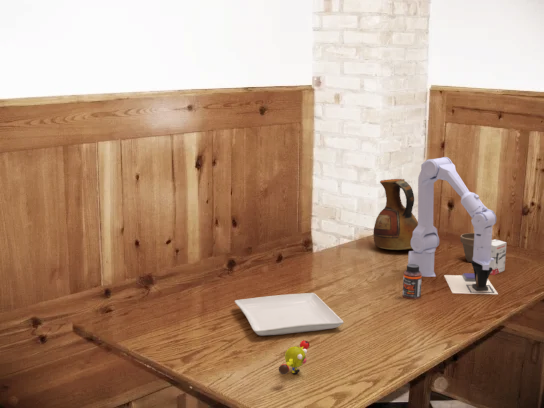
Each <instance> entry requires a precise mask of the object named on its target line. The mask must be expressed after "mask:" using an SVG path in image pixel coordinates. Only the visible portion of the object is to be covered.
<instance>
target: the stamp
mask: <svg viewBox="0 0 544 408" xmlns="http://www.w3.org/2000/svg"><path fill="white" fill-rule="evenodd" d="M472 288H474V289H475V290H476V291H488V287H487V286H485V287H479V286H478V278H477V274H476V284H472Z"/></svg>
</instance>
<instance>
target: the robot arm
mask: <svg viewBox="0 0 544 408" xmlns="http://www.w3.org/2000/svg"><path fill="white" fill-rule="evenodd" d="M420 167H421V168H420V172H419V175H418V178H417V221H418V226H417V227H416V228H415V229H414V231H413V236H412V238H411V247H412V249H411V250H409V251H408V258H407V259H408V260H407V265H408V264H417V265H419V271H420V272H421V273H422V277H428V278H429V277H433V278H434V277H437V275H436V273H435V252H436V249H437V248H438V246H439V245H440V237H439V235H438V228H436V226H434V203H435V202H434V201H435V200H434V198H435V197H434V196H435V194H434V190H435V189H434V188H435V187H434V185H435V182H437V181H438V180H442V181H447V183H448V184H449V185H450V186H451V187H452V189H453V191H455V192H456V194H457V195H458V196H459V197H460V204H461V205H462V207H463V208H464V209H465V210H466V212H467V213H468V215H469V216H470V217H471V220H470V221H471V224H472V226H473V233H474V250H473V258H472V260H473V261H471V262H470V264H471V267H472V269H473V273H474V275H475V281H476V274H477V278H478V286H479V287H485V286H486V283H487V280H489V277H490V275H491V274H490V273H491V272H492V267H489V264H490V262H491V261H494V258H491V244H492V240H493V226H494V225H496V224H497V215H496V214H495V212H494V210H492V209H489V208H488V207H487V206H486V205H484V203H483V202H482V200H481V199H480V196H479V194H478V193H477V194H476V192H471V191H470V189H468V187H467V186H466V184H465V182H464V181H463V179H462V178H461V176H460V175H459V173H458V171H457V170H456V165H455V164H454V163H453V162H452V160H451V159H450V158H449V157H447V156H442V157H437V158H428V159H426V160H425V161H423V162H422V163H421V165H420Z"/></svg>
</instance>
